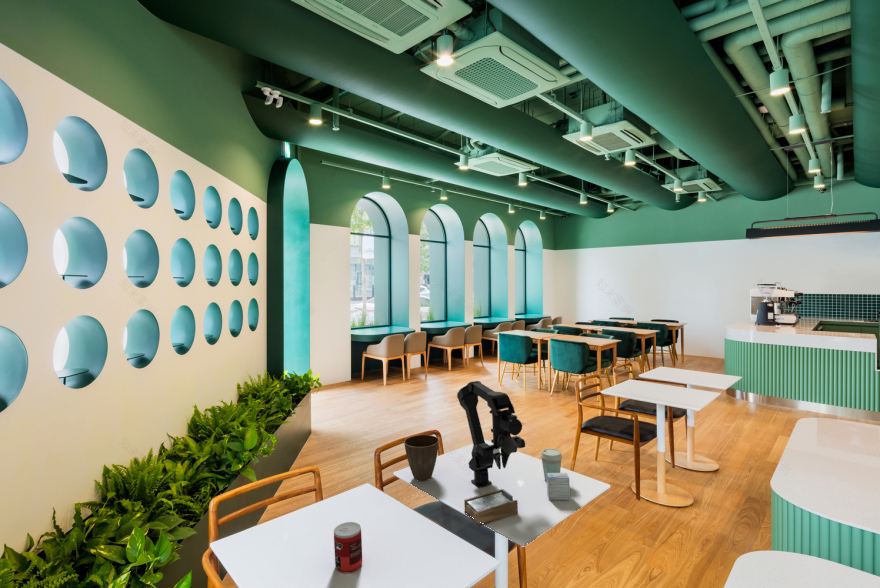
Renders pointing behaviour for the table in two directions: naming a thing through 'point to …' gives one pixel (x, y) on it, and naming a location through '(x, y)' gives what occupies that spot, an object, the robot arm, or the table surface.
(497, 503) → the cover plate
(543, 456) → the coffee cup
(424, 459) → the plant pot
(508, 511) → the walnut box
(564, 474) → the medicine box
